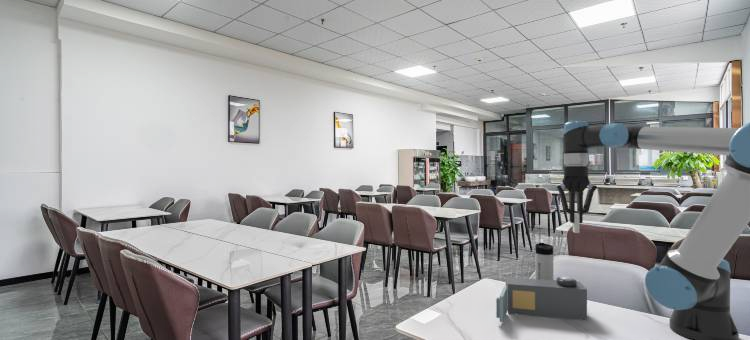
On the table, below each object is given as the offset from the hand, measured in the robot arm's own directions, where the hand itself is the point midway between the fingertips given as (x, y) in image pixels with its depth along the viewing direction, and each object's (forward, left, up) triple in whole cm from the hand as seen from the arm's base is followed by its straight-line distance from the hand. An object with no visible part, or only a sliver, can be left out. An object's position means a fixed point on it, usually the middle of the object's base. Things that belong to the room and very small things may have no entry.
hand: (576, 232), depth 127 cm
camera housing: (+12, +8, -26) cm, 30 cm away
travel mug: (+9, -8, -27) cm, 29 cm away
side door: (+26, +17, -25) cm, 40 cm away
